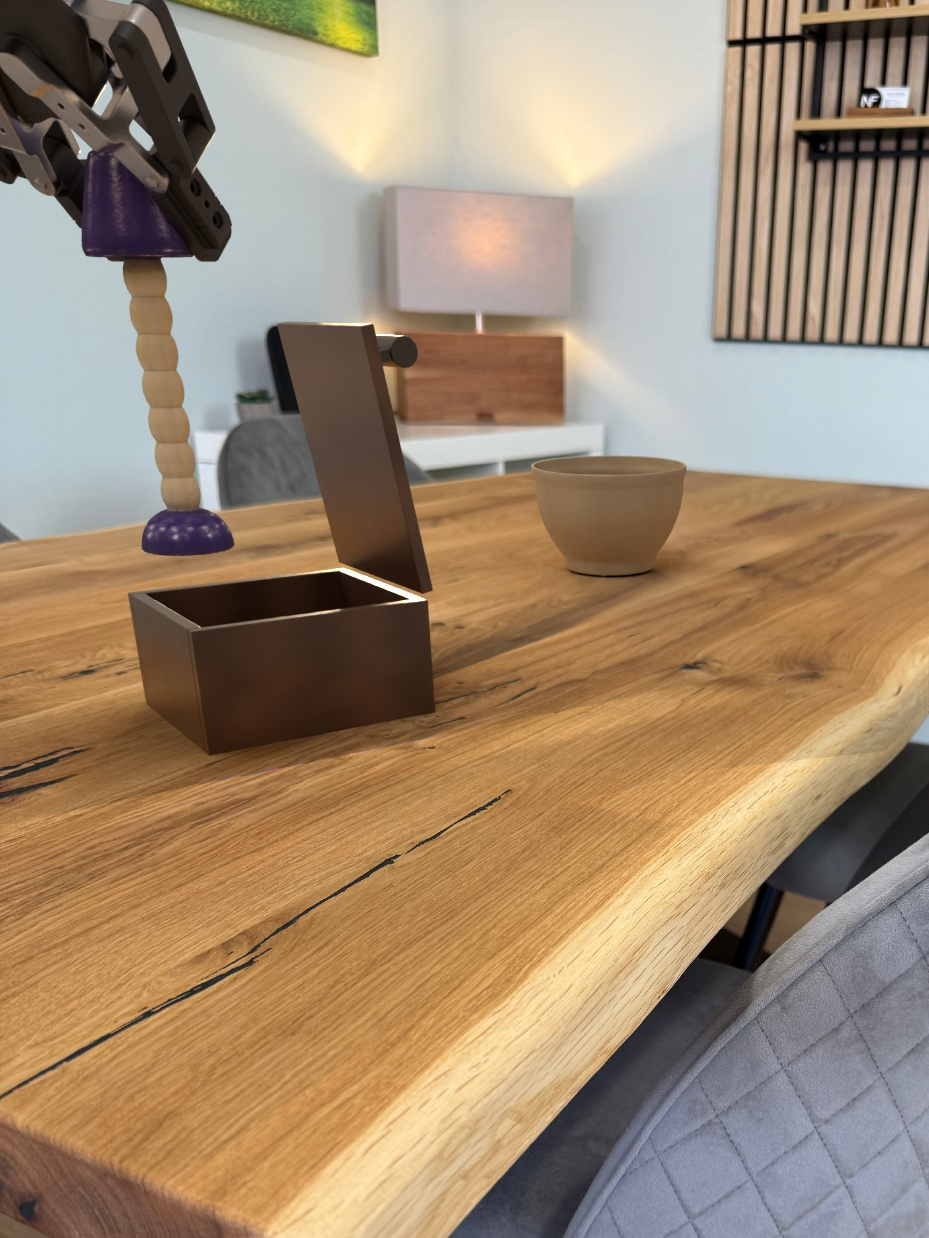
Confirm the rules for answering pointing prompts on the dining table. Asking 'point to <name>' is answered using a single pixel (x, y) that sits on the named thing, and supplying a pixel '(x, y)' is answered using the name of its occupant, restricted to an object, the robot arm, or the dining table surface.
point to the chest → (282, 657)
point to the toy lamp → (152, 347)
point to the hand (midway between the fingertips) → (171, 247)
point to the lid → (358, 444)
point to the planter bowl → (609, 509)
